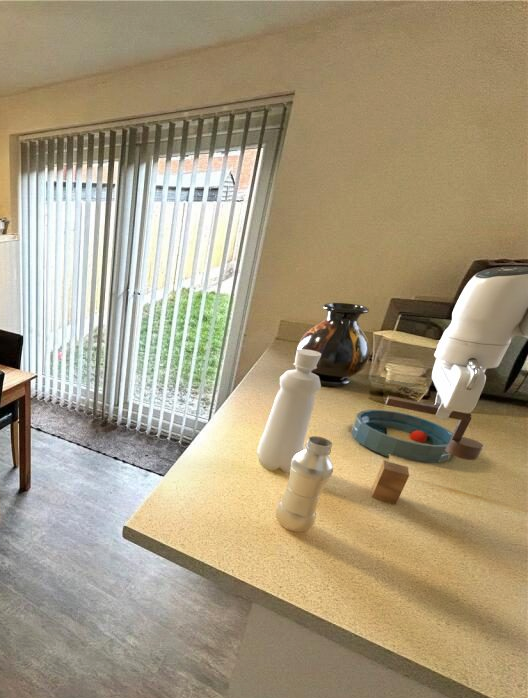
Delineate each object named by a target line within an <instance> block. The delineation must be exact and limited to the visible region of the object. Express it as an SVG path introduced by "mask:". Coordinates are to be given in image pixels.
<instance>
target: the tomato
mask: <svg viewBox="0 0 528 698" xmlns="http://www.w3.org/2000/svg"><path fill="white" fill-rule="evenodd" d="M409 438H410V440H411V441H413V442H415V443H424V442H427V441H426V439H427V435H426V434H425V433H424V432H422V431H414V432H412V433H411V434H410V435H409Z"/></svg>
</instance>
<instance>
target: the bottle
mask: <svg viewBox="0 0 528 698" xmlns="http://www.w3.org/2000/svg"><path fill="white" fill-rule="evenodd" d="M320 357H321V353H319V352H316V351H313V350H306V349H300V350H297V352H296V358H294V362H293V363H292V365H293V366H294V367H295V369H288V370H286V371H285V372H284V373H283V374H282V375H281V376H280V377H279V387H280V389H279V390H278V391H277V393H276V396H275V398H274V401H273V404H272V407H271V410H270V413H269V416H268V418H267V422H266V425H265V428H264V431H263V433H262V435H261V437H260V438H259V443H258V446H257V450H256V455H257V459H258V462H259V464H260V466H262V467H263V468H264V469H266V470H268V471H270V472H271V471H274V470H277V469H280V470H281V471H282V472H283V473H284V474H290V468H291V461H292V458H293V457H294V456H295V455H296V454H297V453H299V452H301V451H302V450H304V446H305V445H304V444H305V441H306V436H307V433H308V429H309V424H310V421H311V417H312V415H313V414H312V413H313V409H314V406H315V395H316V394H317V393H318V392H319V391H320V389H321V388H322V385H321V383H320V379H319V376H317V375H316V374H314V373H311V371H312V370H313V369H316V368H317V367H316V365H317V363H318V361H319V359H320Z"/></svg>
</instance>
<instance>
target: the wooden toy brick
mask: <svg viewBox="0 0 528 698" xmlns="http://www.w3.org/2000/svg"><path fill="white" fill-rule="evenodd" d="M409 477H410V472H409V467H408V466H406V465H402V464H399V463H395V462H391V461H388V460H384V459H383V460H382V463H381V465H380V468H379V470H378V472H377V474H376V477H375V479H374V481H373V484H372V486H371V498H373V499H376V500H380V501H383V502H386V503H389V504H392V505H397V504H398V501H399V499H400V497H401V494H402V492H403V491H404V489H405V486H406V484H407V481H408V479H409Z"/></svg>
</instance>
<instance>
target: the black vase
mask: <svg viewBox="0 0 528 698" xmlns="http://www.w3.org/2000/svg"><path fill="white" fill-rule="evenodd" d="M322 309H324V310H326V311H327V316H326V318H325V319H324V320H323V321H321V322H319V323H318V324H316V325H314V326H313V327H311V328H310V329H309V330H307V331H306V332H305V333H304V334H303V335H302V337H300V340H299V341H298V344H297V345H296V348H295V352H294V357H295V358H296V352H297V350H300V349H306V350H313V351H316V352H319V353H321V357H320V359H319V361H318V363H317V365H316V367H317V368H316V369H313V370H312V371H311V373H314V374H316V375H317V376H319V379H320V383H321V386H322V387H323V386H324V387H332V388H333V387H334V388H338V387H341V388H342V387H346V386H348V385H351V383H352V378H351V377H352V376H355V375H357V374H359V373H360V372H361V371H363V370H364V369H365V368H366V367H367V366H368V362H369V360H370V355H371V345H370V340H369V338H368V336H367V335H366V333H365V331H364V330H363V329H362V327H361V326H360V324H359V319H360V316H361V315H364V314H367V313H370V308H368V307H367V306H364V305H360V304H355V303H345V302H328V303H324V304H323V305H322ZM295 358H294V359H295Z"/></svg>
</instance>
